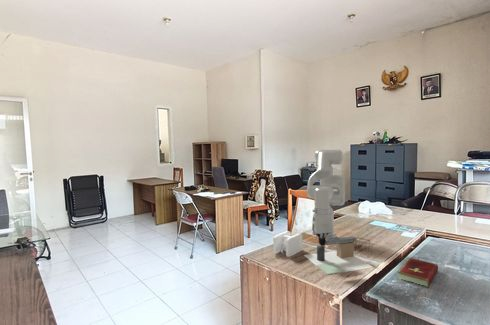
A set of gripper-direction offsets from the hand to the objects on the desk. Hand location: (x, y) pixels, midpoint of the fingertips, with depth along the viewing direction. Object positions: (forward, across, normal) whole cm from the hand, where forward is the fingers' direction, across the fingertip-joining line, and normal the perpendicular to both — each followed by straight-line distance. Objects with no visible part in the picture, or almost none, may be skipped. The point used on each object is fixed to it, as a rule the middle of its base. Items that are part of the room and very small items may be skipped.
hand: (322, 244), depth 145 cm
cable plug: (+8, -1, 0) cm, 8 cm away
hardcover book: (+10, +36, -26) cm, 46 cm away
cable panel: (+10, +6, -4) cm, 12 cm away
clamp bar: (0, +11, 0) cm, 11 cm away
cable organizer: (+10, -13, +16) cm, 23 cm away
